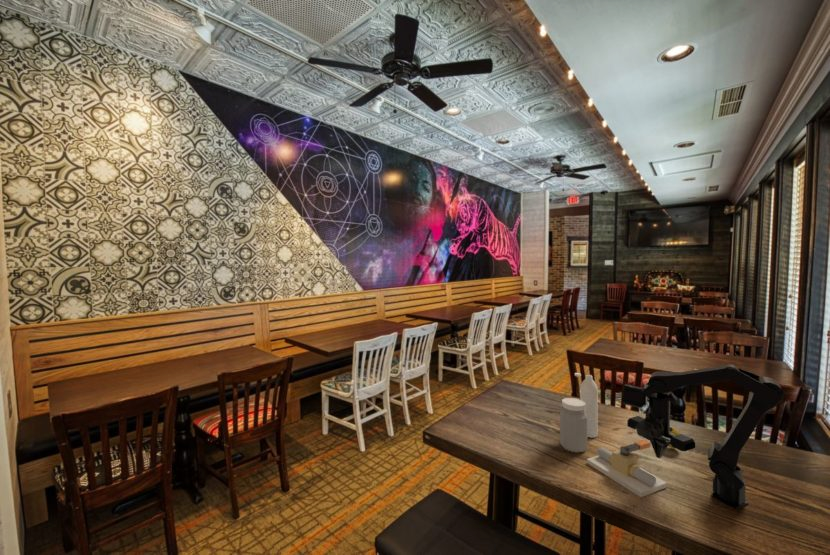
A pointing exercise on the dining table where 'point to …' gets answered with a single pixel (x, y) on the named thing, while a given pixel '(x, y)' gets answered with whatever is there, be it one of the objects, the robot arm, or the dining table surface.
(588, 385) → the water bottle
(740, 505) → the robot arm
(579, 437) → the jar
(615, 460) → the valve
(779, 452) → the dining table surface
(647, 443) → the lever
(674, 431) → the lemon
